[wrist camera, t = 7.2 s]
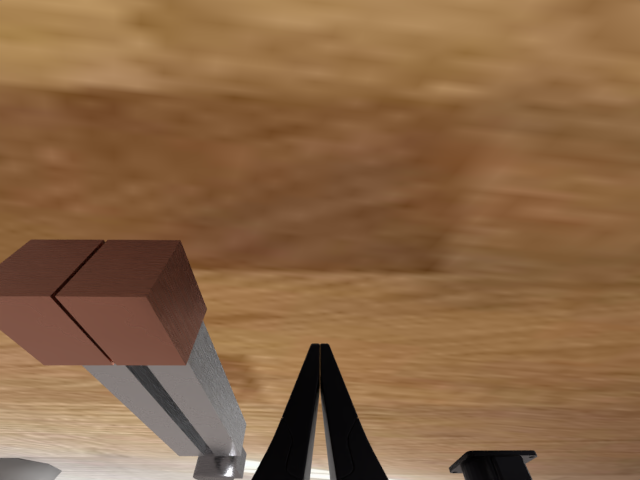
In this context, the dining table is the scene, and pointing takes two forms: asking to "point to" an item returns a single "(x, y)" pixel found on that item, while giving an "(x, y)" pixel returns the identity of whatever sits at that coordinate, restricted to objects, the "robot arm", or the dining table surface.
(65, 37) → the dining table surface
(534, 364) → the dining table surface
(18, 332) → the tongs fixed
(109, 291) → the tong arm
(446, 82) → the dining table surface
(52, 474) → the flask
